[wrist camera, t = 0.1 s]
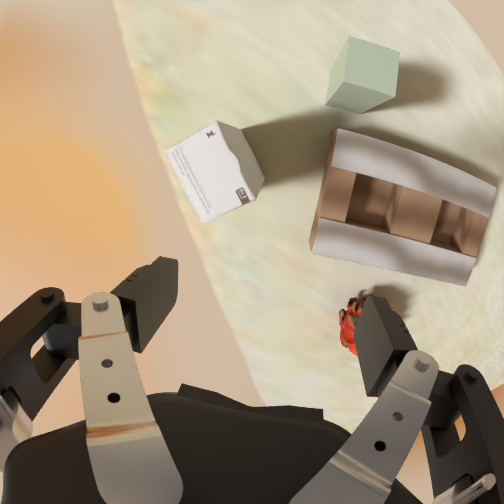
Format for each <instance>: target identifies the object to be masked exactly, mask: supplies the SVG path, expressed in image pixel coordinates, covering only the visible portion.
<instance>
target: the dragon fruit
mask: <svg viewBox="0 0 504 504" xmlns="http://www.w3.org/2000/svg"><path fill="white" fill-rule="evenodd" d="M365 300H366V298H363V299H361V300H360V302H359V301H358V300H357V299H356V297H355V298H350V300H349V303H348V306H347V308H348V311H345V310H344V309H342V310H340V312H339V318H340V323H339V324H340V326H341V331H340V339H341V343H342V345H343V346H345V347H346V348H347V347H349V350H350V351H351V352H352V353H353V354H355V355H356V356H358V355H357V351H356V347H355V343H354V330H355V326H356V323H357V321H358V318H359V316H360V313H361V310H362V308H363V305H364V302H365Z"/></svg>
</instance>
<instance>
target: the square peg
mask: <svg viewBox="0 0 504 504" xmlns="http://www.w3.org/2000/svg"><path fill="white" fill-rule="evenodd" d="M399 54H400V52H397V51H394V50H392V49H389V48H386V47H383V46H380V45H377V44H374V43H371V42H367V41H364V40H361V39H357V38H354V37H350V36H349V38H348V40H347V42H346V44H345V46H344V48H343V50H342V51H341V53H340V55H339V57H338V59H337V61H336V63H335V65H334V67H333V69H332V71H331V73H330V79H329V85H328V92H327V98H326V104H325V105H328V106H332V107H337V108H341V109H344V110H348V111H352V112H356V113H359V114H361V113H363V112H365V111H367V110H369V109H371V108H373V107H376V106H378V105H380V104H382V103H384V102H386V101H388V100H390V99H393V98H395V95H396V87H397V77H398V67H399Z"/></svg>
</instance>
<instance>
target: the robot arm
mask: <svg viewBox="0 0 504 504" xmlns="http://www.w3.org/2000/svg"><path fill="white" fill-rule="evenodd" d="M177 293H178V261H177V260H176V259H171V258H166V257H162V256H160V257H158V258H157V259H156V260H155V261H154V262H153V263H152V264H151V265H145V266H143V267H140V268H137V269H136V270H135V271H134V272H133V273H131V275H129V276H128V277H127V278H126V279H125V280H123V281H122V282H121V283H120V284H119V285H118V286H117V287H116V288H115V289H114V290H112V291H111V292H110V293H105V292H100V293H94V294H91V295H89V296H87V297H86V298H85V299H84V300H83V301H82V303H73V302H66V301H65V296H64V293H63V291H62V290H61V289H59V288H54V287H48V288H43V289H41V290H38V291H37V292H36V293H34V294H33V295H31V297H29V298H28V299H27V300H25V301H24V302H23V303H22V304H20V305H19V306H18V307H17V308H16V309H15V310H13V311H12V312H11V313H10V314H9V315H7V316H6V317H5V318H4V319H3V320H2V321H1V322H0V471H1V472H2V473H3V494H2V501H1V504H423V503H421V501H419V500H418V499H417V498H416V497H415V496H414V495H413V494H412V493H411V492H410V491H409V490H408V489H407V488H406V487H404V486H403V485H402V484H401V483H400V482H399V481H398V480H397V479H396V478H395V477H396V476H397V474H398V472H399V471H400V469H401V467H402V465H403V463H404V461H405V460H406V458H407V456H408V454H409V452H410V450H411V448H412V446H413V444H414V442H415V440H416V438H417V436H418V434H419V432H420V429H421V431H422V435H423V439H424V444H425V448H426V453H427V458H428V464H429V469H430V475H431V481H432V488H433V495H434V500H433V502H432V504H504V419H503V417H502V414H501V412H500V410H499V408H498V406H497V403H496V401H495V399H494V397H493V395H492V393H491V391H490V389H489V387H488V385H487V383H486V381H485V379H484V377H483V376H482V374H481V373H480V372H479V371H478V370H477V369H476V368H474V367H472V366H470V365H465V364H463V365H460V366H459V367H458V368H457V369H456V371H455V372H454V374H450V373H447V372H443V371H440V370H439V366H438V363H437V362H436V360H435V359H434V358H433V357H432V356H431V355H429V354H427V353H425V352H423V351H419V350H418V349H417V347H416V345H415V343H414V341H413V339H412V337H411V335H410V333H409V331H408V329H407V327H405V326H406V325H405V323H404V322H403V320H402V318H401V317H400V316H399V315H398V314H397V313H396V312H395V311H392V310H391V308H390V306H389V304H388V302H387V300H386V299H385V298H381V297H375V296H368V297H367V298H366V300H365V302H364V305H363V308H362V310H361V313H360V316H359V318H358V321H357V323H356V326H355V330H354V343H355V347H356V351H357V355H358V359H359V363H360V367H361V372H362V376H363V381H364V385H365V390H366V394H367V396H369V397H378V400H377V401H376V403H375V404H374V406H373V407H372V408H371V410H370V411H369V413H368V414H367V415H366V417H365V418H364V419H363V421H362V422H361V423H360V425H359V426H358V427H357V428H356V430H355V431H354V432H353V434H351V433H349V432H348V431H347V430H345V429H344V428H342V427H340V426H338V425H336V424H334V423H332V422H329V421H327V420H324V419H323V409H316V408H306V407H297V406H290V405H288V406H269V407H251V406H247V405H245V404H242V403H240V402H238V401H235V400H233V399H231V398H228V397H226V396H224V395H221V394H219V393H217V392H213V391H209V390H205V389H201V388H197V387H193V386H189V385H186V384H181V386H180V389H179V391H178V393H175V392H166V393H165V392H164V393H155V394H150V395H146V394H145V390H144V388H143V384H142V381H141V378H140V374H139V371H138V368H137V364H136V361H135V357H134V354H133V351H135V352H138V353H142V352H143V350H144V349H145V347H146V346H147V344H148V343H149V341H150V340H151V338H152V337H153V336H154V334H155V333H156V331H157V330H158V328H159V327H160V325H161V324H162V323H163V321H164V320H165V318H166V316H167V315H168V314H169V312H170V311H171V310H172V308H173V307H174V305H175V303H176V299H177ZM41 336H42V338H43V340H44V343H45V344H44V346H43V347H42V348H41V349H40V350H39V351H38V352H37V353H36V354H35V356H34V357H33V358H32V359H31V356H30V353H31V348H32V346H33V345H34V344H35V342H37V340H38V339H39V338H40V337H41ZM76 360H79V365H80V379H81V389H82V397H83V405H84V413H85V420H83V421H80V422H77V423H74V424H72V425H69V426H66V427H63V428H60V429H57V430H54V431H51V432H48V433H45V434H42V435H38V436H35V437H31V435H32V431H33V425H32V421H33V420H34V418H35V417H36V415H37V414H38V412H39V411H40V409H41V408H42V406H43V405H44V403H45V402H46V401H47V399H48V398H49V396H50V395H51V394H52V392H53V391H54V389H55V388H56V387H57V385H58V384H59V383H60V381H61V380H62V378H63V377H64V376H65V374H66V373H67V372H68V370H69V369H70V368H71V366H72V365H73V364H74V362H75V361H76ZM461 415H462V418H463V420H464V423H465V426H466V433H465V436H464V438H463V439H462V440H461V441H460V439H459V436H458V433H457V429H456V427H455V421H456V420H457V419H458V418H459V417H460V416H461Z"/></svg>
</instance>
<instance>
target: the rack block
mask: <svg viewBox="0 0 504 504" xmlns="http://www.w3.org/2000/svg"><path fill="white" fill-rule="evenodd" d="M496 189H497V188H496V187H495V186H493V185H491V184H489V183H487V182H485V181H483V180H481V179H479V178H477V177H475V176H472V175H470V174H468V173H466V172H464V171H462V170H459V169H457V168H455V167H453V166H450V165H448V164H445V163H443V162H441V161H438V160H436V159H433V158H431V157H428V156H426V155H423V154H420V153H418V152H415V151H412V150H409V149H406V148H404V147H401V146H398V145H395V144H392V143H389V142H385V141H382V140H379V139H376V138H372V137H369V136H366V135H362V134H359V133H355V132H351V131H347V130H344V129H340V128H338V129H335V130H333V131H332V134H331V140H330V145H329V150H328V155H327V161H326V166H325V171H324V176H323V180H322V185H321V190H320V195H319V199H318V204H317V208H316V213H315V217H314V222H313V226H312V230H311V235H310V239H309V243H310V249H311V254H315V255H320V256H325V257H330V258H335V259H340V260H345V261H349V262H354V263H359V264H364V265H368V266H373V267H378V268H383V269H387V270H392V271H397V272H401V273H406V274H411V275H415V276H420V277H425V278H429V279H434V280H438V281H443V282H447V283H452V284H456V285H461V286H465V287H466V284H467V282H468V280H469V277H470V275H471V272H472V269H473V267H474V264H475V262H476V259H477V258H476V255H477V253H478V250H479V247H480V244H481V241H482V237H483V234H484V231H485V228H486V224H487V221H488V218H490V214H491V210H492V206H493V202H494V198H495V194H496Z"/></svg>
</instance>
